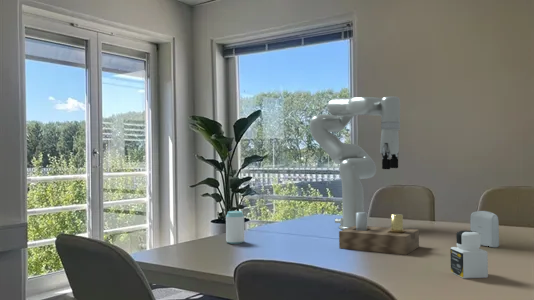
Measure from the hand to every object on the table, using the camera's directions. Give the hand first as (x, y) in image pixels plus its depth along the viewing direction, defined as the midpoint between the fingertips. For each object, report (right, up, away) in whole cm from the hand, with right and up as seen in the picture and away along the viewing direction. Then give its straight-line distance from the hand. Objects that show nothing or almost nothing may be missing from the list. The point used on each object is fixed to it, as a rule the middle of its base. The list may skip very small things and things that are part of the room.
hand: (390, 168), depth 195 cm
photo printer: (+28, -27, -24) cm, 45 cm away
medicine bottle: (+5, -27, -64) cm, 70 cm away
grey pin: (-16, -25, -21) cm, 37 cm away
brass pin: (-5, -25, -28) cm, 38 cm away
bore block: (-10, -27, -24) cm, 38 cm away
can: (-63, -28, -11) cm, 70 cm away
